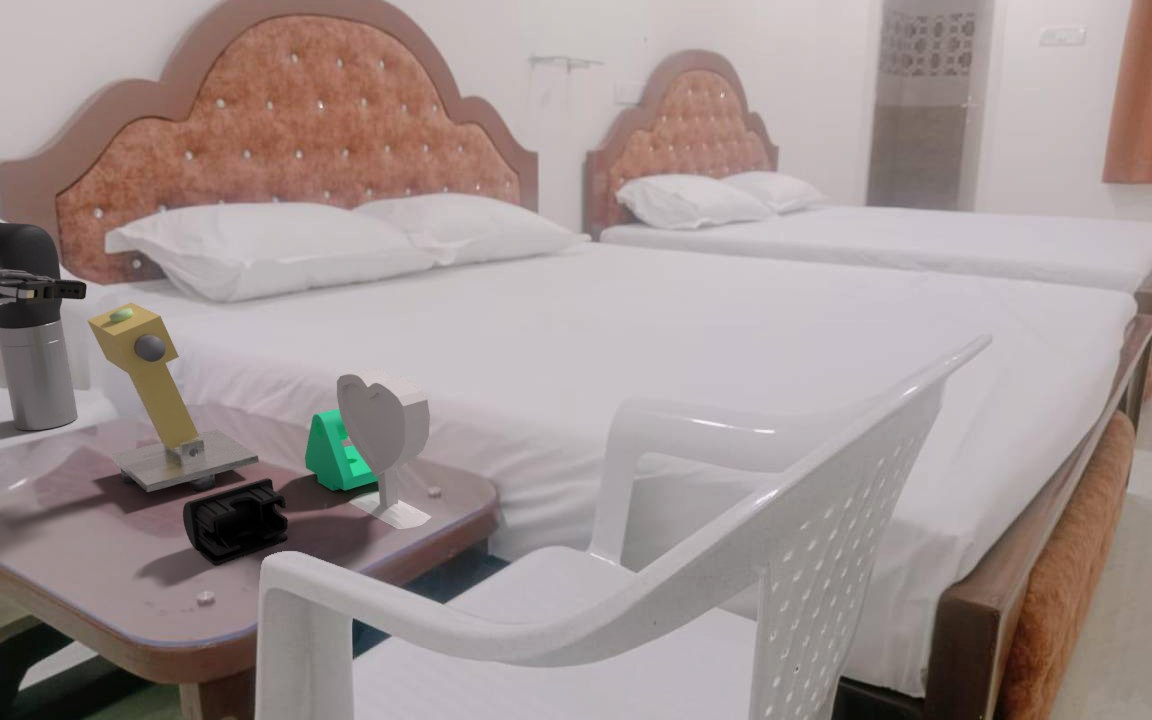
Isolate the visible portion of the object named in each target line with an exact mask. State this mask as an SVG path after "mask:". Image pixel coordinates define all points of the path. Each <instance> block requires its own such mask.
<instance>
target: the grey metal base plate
mask: <svg viewBox="0 0 1152 720" xmlns="http://www.w3.org/2000/svg"><path fill="white" fill-rule="evenodd" d="M198 435H199V436H198V437H196V438H194V439H192V440H190V441H186V442H182V443H179V446H178V447H177V448H175V449H173V450H171V449H170V448H169V447H167V446H166V445H165V444H163V443H162V442H159V443H155V444H151V445H147V446H146V445H145V446H142V447H138V448H134V449H130V450H124V451H121V452H117V453H113V454H111V456H112V462H114V463H115V464H116V465H117V466H118V467H119V468H120V473H121V480H122V483H123V484H127V485H128V484H129V485H130V484H133V485H134V484H138V486H140V487H141V488H142V489H144V490H145V491H146V493H150V492H153V491H157V490H161V489H165V488H168V487H172V486H176V485H179V484H183V483H187V482H189V487H190V490H191V491H192V492H196V493H199V492H206V491H209V490H213V488H215V487H216V479H215V475H216V474H219V473H224V472H227V471H231V470H235V469H238V468H242V467H245V466H250V465H253V464H257V463H259V455H258V454H257V453H254V452H253V450H250V449H249V448H247V447H245V446H244V445H243V444H241V443H240V442H238V441H236V440H235V439H233V438H232V437H230V436H228V435H227V434H225V432H222V431H221V430H219V429H218V428H217V429H211V430H208V431H205V432H200V433H198Z"/></svg>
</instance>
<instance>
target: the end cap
mask: <svg viewBox="0 0 1152 720" xmlns="http://www.w3.org/2000/svg"><path fill="white" fill-rule="evenodd" d="M286 505H287V502H286V498H285V497H284V495H282V494H280V493H278V492H277V491H275V489H274V485H273V479H272V478H268V477H267V478H262V479H259V480H257V481H253V482H252V481H251V482H249V483H246V484H242V485H239V486H236V487H233V488H229V489H227V490H223V491H220V492H219V491H218V492H216V493H213V494H208V495H206V496H203V497H198V498H196V499H193V500H190V501H187V502H186V503H185V504H184V506H183V510H182V519H183V526H184V530H185V531H186V532H185V533H186V535H187V538H188V540H189V543H190V544H191V546H192V547H193V549H194V550H195V551H196V552H199V554H200V555H201V556H202V557H203V558H204V559H205V560H207V561H208V562H209V563H210V564H211V565H212V566H216V567H217V566H222V565H224V564H227V563H230V562H233V561H235V560H238V559H241V558H244V557H247V556H249V555H252V554H256V553H258V552H261V551H264V550H266V549H269V548H273V547H274V546H277V545H278V546H279V545H281V544H282V543H286V542H287V541H288V534H286V532H287V531H288V528H289V526H288V525H289V524H288V522H289V520H288V518H287V517H286V516H285V515H283V514H282V513H280V512H278V510H277V508H276V506H277V507H279V508H281V509H282V510H283V509H287V507H286Z"/></svg>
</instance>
